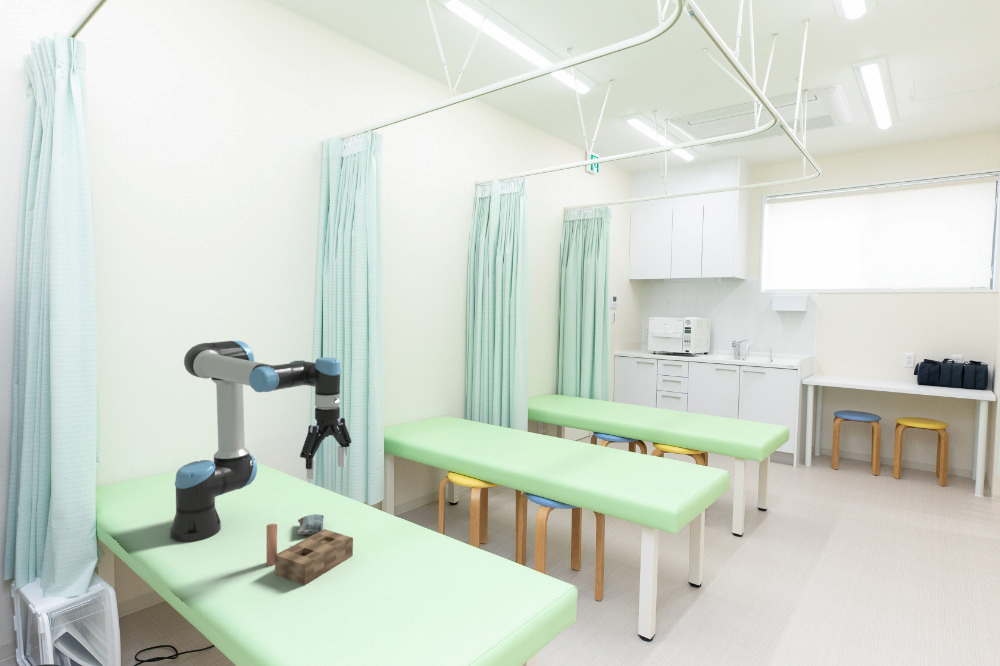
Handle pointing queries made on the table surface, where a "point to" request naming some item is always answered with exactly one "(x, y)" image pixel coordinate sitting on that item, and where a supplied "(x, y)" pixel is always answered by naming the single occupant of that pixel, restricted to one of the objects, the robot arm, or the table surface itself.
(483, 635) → the table surface
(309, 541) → the bore block
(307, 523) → the packaged food
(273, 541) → the dowel
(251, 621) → the table surface
